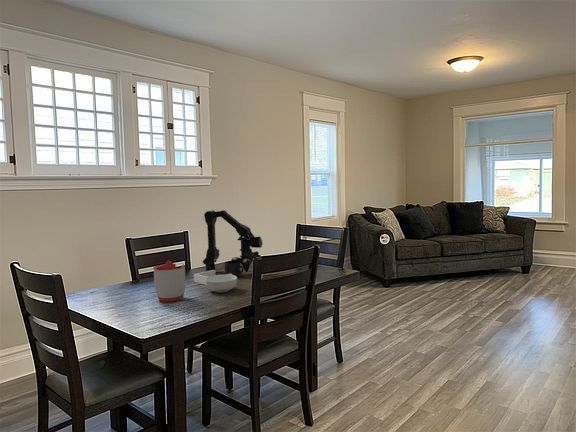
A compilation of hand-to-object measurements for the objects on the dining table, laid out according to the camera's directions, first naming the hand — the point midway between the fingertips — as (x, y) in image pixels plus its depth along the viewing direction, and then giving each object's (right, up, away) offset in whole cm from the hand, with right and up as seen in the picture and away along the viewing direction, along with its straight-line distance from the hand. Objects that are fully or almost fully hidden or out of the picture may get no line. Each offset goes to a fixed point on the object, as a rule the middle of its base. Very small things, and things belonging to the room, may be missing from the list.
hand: (246, 272), depth 281 cm
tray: (-18, -3, -16) cm, 24 cm away
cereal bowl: (-10, -5, -39) cm, 41 cm away
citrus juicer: (-33, -7, -52) cm, 62 cm away
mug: (-7, -2, -6) cm, 9 cm away
